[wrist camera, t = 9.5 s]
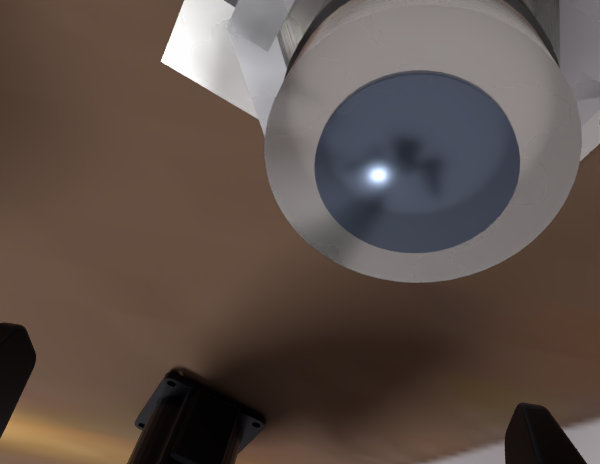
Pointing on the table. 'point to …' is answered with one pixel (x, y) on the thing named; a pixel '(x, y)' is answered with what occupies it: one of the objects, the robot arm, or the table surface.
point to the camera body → (296, 19)
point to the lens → (422, 136)
